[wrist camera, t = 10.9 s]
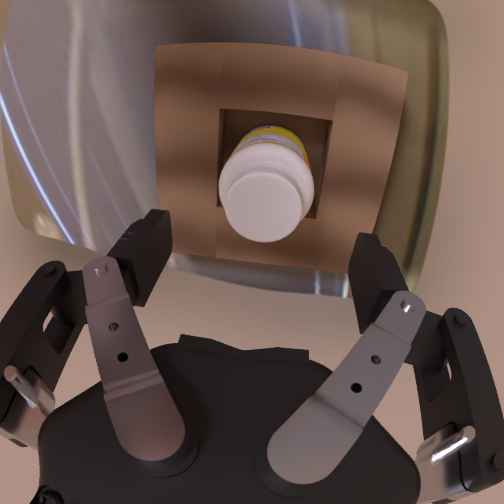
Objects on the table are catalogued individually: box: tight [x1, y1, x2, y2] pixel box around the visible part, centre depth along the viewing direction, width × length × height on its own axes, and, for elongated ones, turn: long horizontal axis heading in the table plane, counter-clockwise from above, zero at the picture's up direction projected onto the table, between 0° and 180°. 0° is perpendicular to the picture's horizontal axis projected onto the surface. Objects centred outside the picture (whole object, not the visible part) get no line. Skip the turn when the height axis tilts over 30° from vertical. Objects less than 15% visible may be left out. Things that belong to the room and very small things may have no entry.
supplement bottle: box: [219, 124, 314, 242], centre depth 19 cm, size 6×6×10 cm
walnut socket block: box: [154, 42, 408, 274], centre depth 22 cm, size 18×18×3 cm
